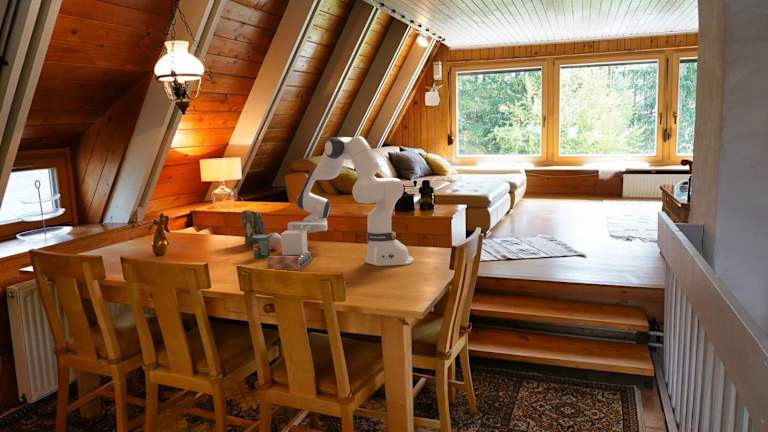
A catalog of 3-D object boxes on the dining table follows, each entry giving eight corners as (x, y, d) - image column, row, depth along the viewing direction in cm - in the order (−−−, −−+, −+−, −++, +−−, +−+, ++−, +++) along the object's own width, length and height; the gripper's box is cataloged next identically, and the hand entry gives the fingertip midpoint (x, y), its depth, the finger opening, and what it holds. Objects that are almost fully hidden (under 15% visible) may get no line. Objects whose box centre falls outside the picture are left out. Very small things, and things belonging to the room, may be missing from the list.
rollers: (310, 257, 280) (310, 251, 279) (298, 267, 259) (298, 261, 259) (286, 257, 281) (286, 250, 281) (272, 267, 261) (271, 261, 260)
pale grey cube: (307, 251, 278) (306, 230, 276) (302, 254, 270) (301, 233, 269) (287, 251, 279) (286, 230, 278) (282, 254, 271) (280, 233, 270)
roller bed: (313, 259, 280) (312, 245, 279) (297, 273, 255) (297, 258, 254) (285, 259, 282) (284, 245, 281) (267, 273, 257) (266, 257, 256)
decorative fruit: (279, 251, 302) (278, 232, 300) (264, 251, 302) (263, 232, 301) (284, 247, 311) (283, 229, 309) (269, 247, 312) (268, 229, 310)
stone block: (270, 246, 316) (268, 209, 313) (257, 249, 309) (254, 212, 306) (251, 242, 328) (248, 207, 325) (237, 245, 321) (234, 209, 318)
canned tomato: (273, 256, 290) (272, 235, 288) (263, 260, 283) (262, 238, 281) (260, 255, 293) (259, 234, 292) (250, 259, 286) (249, 237, 285)
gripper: (291, 218, 305) (283, 222, 291) (329, 218, 302) (323, 223, 289) (291, 229, 306) (283, 235, 292) (330, 230, 303) (323, 235, 290)
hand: (303, 229), depth 290 cm, fingers closed
